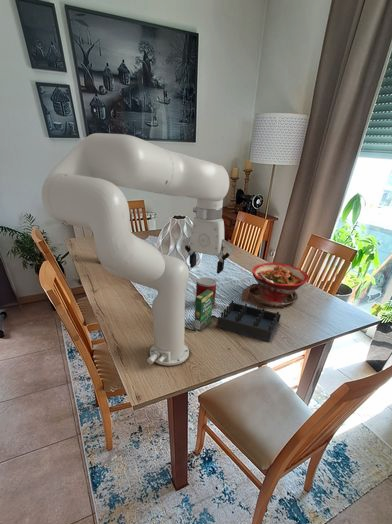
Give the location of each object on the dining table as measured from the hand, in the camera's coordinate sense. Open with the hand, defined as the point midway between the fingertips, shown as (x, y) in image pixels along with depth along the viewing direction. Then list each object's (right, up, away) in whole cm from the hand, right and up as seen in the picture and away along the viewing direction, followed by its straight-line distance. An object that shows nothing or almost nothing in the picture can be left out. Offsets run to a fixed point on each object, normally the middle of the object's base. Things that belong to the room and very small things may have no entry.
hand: (206, 269), depth 96 cm
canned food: (0, -8, +25) cm, 27 cm away
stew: (+30, -4, +33) cm, 45 cm away
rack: (+17, -17, +14) cm, 28 cm away
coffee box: (-1, -18, +12) cm, 22 cm away
